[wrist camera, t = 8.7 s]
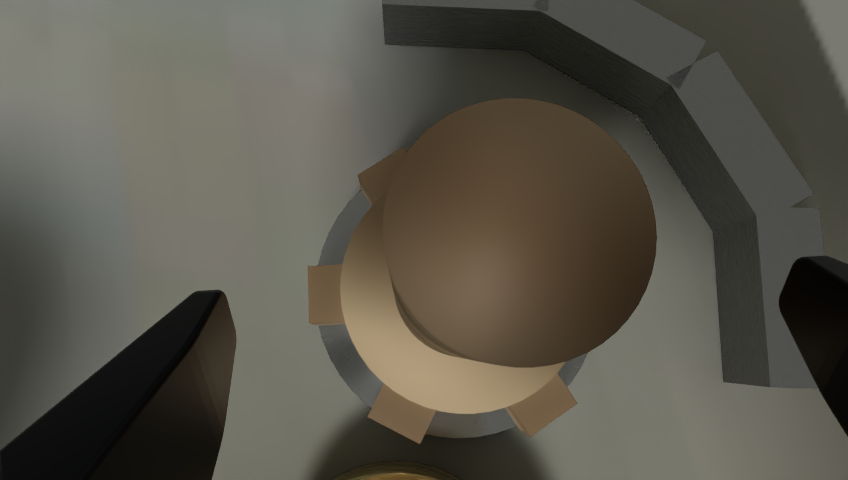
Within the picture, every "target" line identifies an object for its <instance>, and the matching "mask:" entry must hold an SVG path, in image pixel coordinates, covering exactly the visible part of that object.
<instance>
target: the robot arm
mask: <svg viewBox="0 0 848 480" xmlns="http://www.w3.org/2000/svg"><path fill="white" fill-rule="evenodd" d="M779 309H780V312H781V315H782V317H783V319H784V321H785V323H786V325H787V327H788V329H789V331H790V333H791V335H792V337H793V339H794V341H795V343H796V345H797V347H798V349H799V351H800V353H801V355H802V357H803V359H804V361H805V363H806V365H807V367H808V369H809V371H810V373H811V375H812V377H813V379H814V381H815V383H816V385H817V387H818V389H819V391H820V393H821V394H822V396H823V398H824V399H825V401H826V403H827V404H828V406H829V408H830V409H831V411H832V413H833V414H834V416H835V417H836V419H837V420H838V422H839V424H840V425H841V427H842V428H843V430H844V432H845V433H846V435H847V436H848V264H846V263H843V262H841V261H838V260H836V259H833V258H831V257H828V256H808V257H801V258H798V259H797V260H796V261H795V262H794V263H793V265H792V267H791V269H790V272H789V274H788V276H787V279H786V281H785V284H784V286H783V288H782V291H781V293H780V296H779ZM235 349H236V331H235V326H234V323H233V319H232V315H231V312H230V308H229V304H228V301H227V298H226V295H225V294H224V292H223V291H221V290H205V291H196V292H194V293H192V294H191V295H190V296H189V297H187V298H186V299H185V300H184V301H182V302H181V303H180V304H179V305H178V306H176V307H175V308H174V309H173V310H171V311H170V312H169V313H168V314H166V315H165V316H164V317H163V318H162V319H160V320H159V321H158V322H157V323H155V324H154V325H153V326H152V327H151V328H149V329H148V330H147V331H146V332H144V333H143V334H142V335H141V336H140V337H138V338H137V339H136V340H135V341H133V342H132V343H131V344H130V345H129V346H127V347H126V348H125V349H124V350H122V351H121V352H120V353H119V354H118V355H116V356H115V357H114V358H113V359H111V360H110V361H109V362H108V363H107V364H105V365H104V366H103V367H102V368H100V369H99V370H98V371H97V372H95V373H94V374H93V375H92V376H91V377H89V378H88V379H87V380H86V381H84V382H83V383H82V384H81V385H80V386H78V387H77V388H76V389H75V390H73V391H72V392H71V393H70V394H69V395H67V396H66V397H65V398H64V399H62V400H61V401H60V402H59V403H58V404H56V405H55V406H54V407H53V408H51V409H50V410H49V411H48V412H47V413H45V414H44V415H43V416H42V417H40V418H39V419H38V420H37V421H35V422H34V423H33V424H32V425H31V426H29V427H28V428H27V429H26V430H24V431H23V432H22V433H21V434H20V435H18V436H17V437H16V438H15V439H13V440H12V441H11V442H10V443H9V444H7V445H6V446H5V447H4V448H2V449H1V450H0V480H212V476H213V472H214V468H215V465H216V461H217V457H218V453H219V450H220V445H221V441H222V437H223V432H224V426H225V420H226V413H227V406H228V399H229V392H230V385H231V377H232V370H233V363H234V356H235Z"/></svg>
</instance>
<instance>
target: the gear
mask: <svg viewBox="0 0 848 480" xmlns="http://www.w3.org/2000/svg"><path fill="white" fill-rule="evenodd" d="M358 178H359V182H360V185H361V189H362V192H363V193H364V195H365V196H366V198H367V199H368V201H369V202H370V204H371V208H370V209H369V210H368V211H367V213H366V214H365V215H364V216H363V218H362V219H361V221H360V222H359V224H358V226H357V227H356V229H355V231H354V233H353V235H352V237H351V239H350V242H349V244H348V247H347V250H346V253H345V256H344V260H343V264H339V265H320V266H308V295H309V323H311V324H315V325H336V324H346V327H347V330H348V332H349V335H350V337H351V340H352V342H353V344H354V346H355V348H356V349H357V351H358V353H359V355H360V356H361V358H362V359H363V360H364V362H365V363H366V365H367V366H368V367H369V369H370V370H371V371H372V372H373V373H374V374H375V375H376V376H377V377H378V378H379V379H380V380H381V381H382V382H383V383H384V384H383V386H382V388H381V390H380V392H379V394H378V396H377V398H376V400H375V402H374V404H373V406H372V408H371V410H370V412H369V414H368V416H367V417H368V418H370V419H372V420H374V421H376V422H378V423H380V424H382V425H384V426H386V427H388V428H390V429H392V430H393V431H395V432H397V433H399V434H401V435H403V436H405V437H407V438H409V439H411V440H413V441H415V442H417V443H418V444H420V443H421V441H422V439H423V437H424V435H425V433H426V431H427V429H428V427H429V424H430V422H431V420H432V418H433V416H434V414H435V412H436V410H437V411H441V412H448V413H456V414H476V413H483V412H491V411H494V410H498V409H502V408H505V409H506V410H507V412H508V413H509V415H510V416H511V418H512V419H513V421H514V422H515V424H516V425H517V427H518V428H519V429H521V430H522V431H523V432H525V433H526V434H527V435H529V436H530V437H531V436H533V435H534V434H535V433H537V432H538V431H539V430H541V429H542V428H544V427H545V426H546V425H548V424H549V423H551V422H552V421H553V420H555V419H556V418H558V417H559V416H560V415H562V414H563V413H565V412H566V411H567V410H569V409H570V408H572V407H573V406H574V405H576V404H577V401H576V400H575V398H574V397H573V395H572V394H571V392H570V391H569V389H568V388H567V386H566V385H565V384H564V382H563V381H562V379H561V378H560V376H559V375H558V373H557V372H558V371H559V370H560V369H561V368H562V366H563V365H564V364H565V362H566V361H569V360H572V359H574V358H576V357H579V356H581V355H583V354H586V353H588V352H589V351H591V350H593V349H594V348H596V347H597V346H599V345H601V344H602V343H604V342H605V341H606V340H607V339H608V338H610V337H611V336H612V335H613V334H615V333H616V332H617V331H618V330H619V329H620V328H621V326H622V325H623V324H624V323H625V322H626V321H627V320H628V319H629V317H630V316H631V314H632V313H633V312H634V310H635V309H636V307H637V306H638V304H639V302H640V300H641V298H642V296H643V295H644V293H645V291H646V288H647V286H648V283H649V280H650V277H651V274H652V270H653V265H654V260H655V255H656V240H657V235H656V221H655V215H654V210H653V205H652V201H651V198H650V195H649V193H648V190H647V187H646V184H645V182H644V180H643V178H642V176H641V174H640V172H639V170H638V169H637V167H636V166H635V164H634V163H633V161H632V159H631V158H630V156H629V155H628V154H627V153H626V152H625V150H624V149H623V148H622V147H621V146H620V144H619V143H618V142H617V141H616V140H615V139H614V138H613V137H611V136H610V135H609V134H608V133H607V132H606V131H605V130H604V129H602V128H601V127H599V126H598V125H597V124H595V123H594V122H593V121H591V120H589V119H588V118H586V117H584V116H582V115H580V114H579V113H577V112H575V111H572V110H570V109H567V108H565V107H562V106H560V105H557V104H553V103H549V102H545V101H541V100H534V99H527V98H504V99H494V100H489V101H484V102H480V103H476V104H473V105H470V106H467V107H465V108H462V109H459V110H457V111H455V112H454V113H452V114H450V115H448V116H446V117H444V118H443V119H441V120H440V121H438V122H437V123H436V124H434V125H433V126H431V127H430V128H429V129H428V130H427V131H426V132H425V133H424V134H422V135H421V136H420V137H419V138H418V139H417V140H416V142H415V143H414V144H413V145H412V146H411V148H410V149H409V150H408V151H406V150H405V148H404V147H402V148H401V149H399V150H398V151H396V152H394V153H393V154H391V155H389V156H388V157H386V158H385V159H383V160H381V161H380V162H378V163H376V164H375V165H373V166H372V167H370V168H368V169H367V170H365V171H363V172H362V173H360V174H359V175H358Z"/></svg>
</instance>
